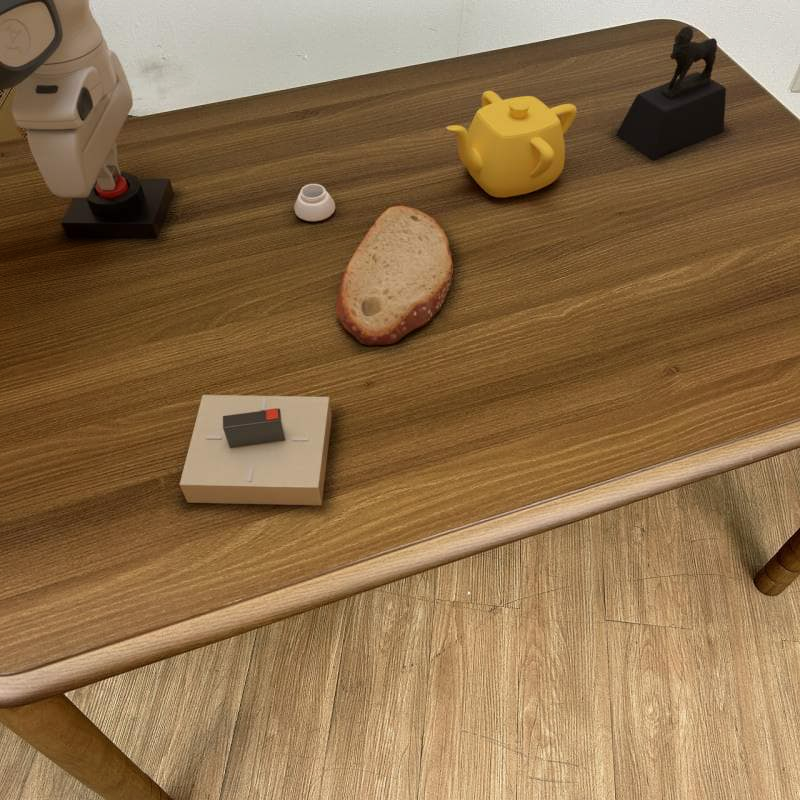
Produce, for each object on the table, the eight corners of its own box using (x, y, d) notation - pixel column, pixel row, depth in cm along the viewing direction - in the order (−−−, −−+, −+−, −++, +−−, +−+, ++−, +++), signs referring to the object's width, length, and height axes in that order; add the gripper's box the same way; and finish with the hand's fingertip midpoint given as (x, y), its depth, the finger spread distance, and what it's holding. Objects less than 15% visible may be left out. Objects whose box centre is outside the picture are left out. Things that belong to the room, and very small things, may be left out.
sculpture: (612, 132, 102) (638, 20, 90) (687, 106, 106) (720, -4, 94) (651, 161, 98) (683, 47, 86) (727, 133, 102) (767, 20, 90)
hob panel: (187, 502, 66) (178, 483, 64) (209, 414, 72) (202, 393, 70) (321, 505, 66) (318, 486, 63) (331, 416, 72) (329, 395, 69)
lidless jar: (330, 225, 90) (338, 200, 93) (328, 205, 88) (337, 180, 91) (290, 222, 91) (300, 197, 94) (287, 202, 89) (297, 177, 92)
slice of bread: (412, 209, 92) (412, 183, 89) (503, 291, 83) (506, 265, 80) (284, 263, 86) (279, 237, 83) (366, 359, 76) (364, 333, 74)
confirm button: (96, 205, 89) (91, 192, 88) (104, 187, 91) (100, 174, 90) (125, 205, 89) (121, 193, 88) (133, 187, 91) (129, 175, 90)
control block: (67, 237, 90) (54, 210, 87) (89, 192, 95) (78, 165, 92) (157, 238, 89) (147, 210, 86) (174, 193, 95) (165, 165, 92)
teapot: (541, 222, 90) (553, 147, 82) (442, 198, 93) (445, 122, 85) (571, 162, 98) (586, 88, 90) (479, 141, 101) (485, 67, 93)
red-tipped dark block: (229, 448, 66) (222, 426, 63) (229, 435, 67) (221, 413, 64) (285, 440, 66) (280, 418, 64) (284, 428, 67) (279, 406, 65)
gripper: (70, 24, 85) (109, 134, 95) (4, 123, 72) (58, 236, 83) (125, 24, 84) (158, 134, 95) (68, 123, 72) (114, 237, 82)
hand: (111, 183), depth 89 cm, fingers closed, pressing on confirm button
